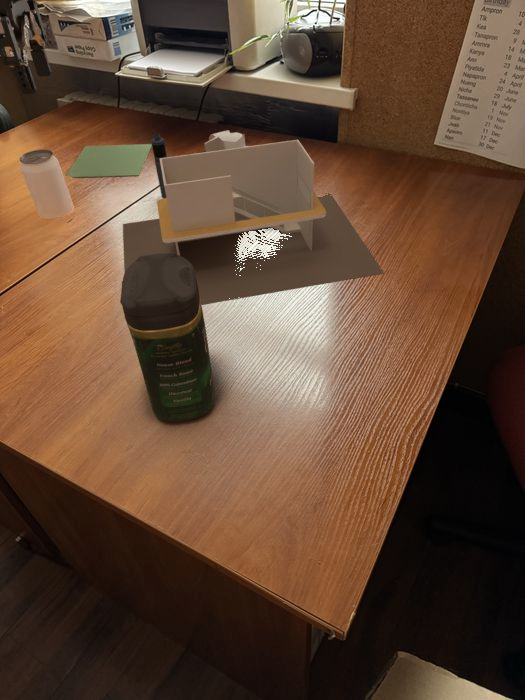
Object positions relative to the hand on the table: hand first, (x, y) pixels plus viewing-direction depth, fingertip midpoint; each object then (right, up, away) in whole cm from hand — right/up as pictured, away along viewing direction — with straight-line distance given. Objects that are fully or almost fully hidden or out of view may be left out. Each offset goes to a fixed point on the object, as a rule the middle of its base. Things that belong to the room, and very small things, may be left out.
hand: (37, 84), depth 81 cm
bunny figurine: (+29, 0, +30) cm, 42 cm away
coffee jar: (+26, -48, -18) cm, 58 cm away
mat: (+2, 0, +32) cm, 32 cm away
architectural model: (+33, -25, +5) cm, 42 cm away
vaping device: (+18, -13, +19) cm, 29 cm away
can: (-3, -18, +15) cm, 23 cm away
